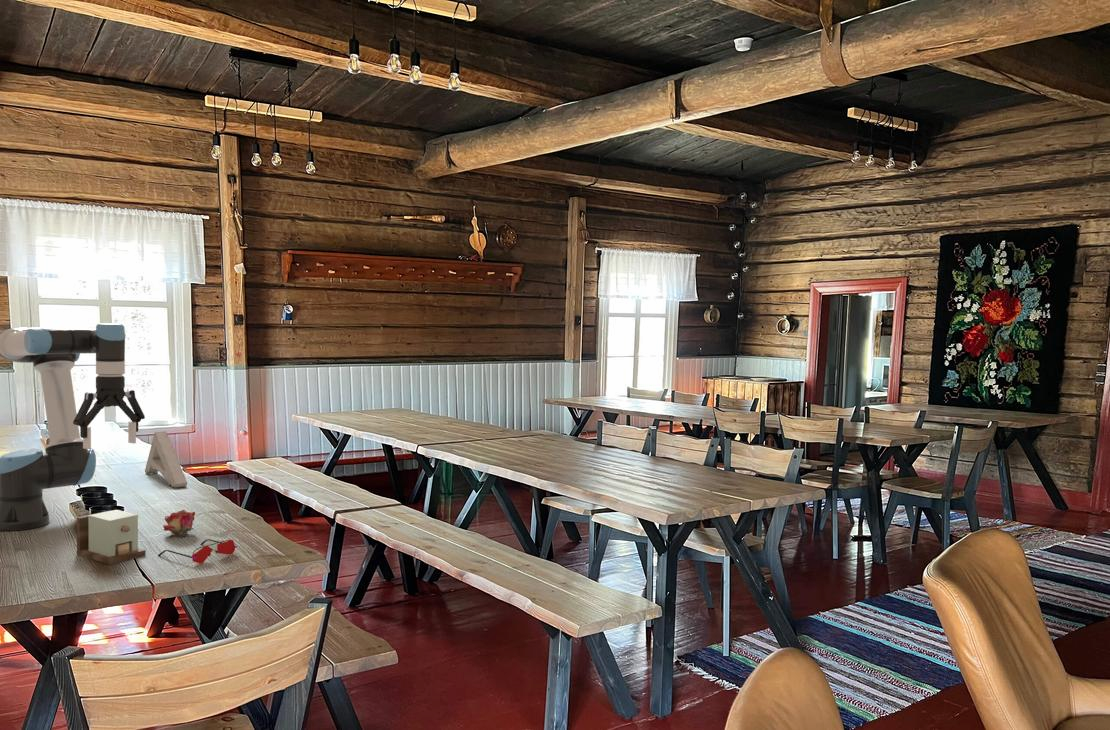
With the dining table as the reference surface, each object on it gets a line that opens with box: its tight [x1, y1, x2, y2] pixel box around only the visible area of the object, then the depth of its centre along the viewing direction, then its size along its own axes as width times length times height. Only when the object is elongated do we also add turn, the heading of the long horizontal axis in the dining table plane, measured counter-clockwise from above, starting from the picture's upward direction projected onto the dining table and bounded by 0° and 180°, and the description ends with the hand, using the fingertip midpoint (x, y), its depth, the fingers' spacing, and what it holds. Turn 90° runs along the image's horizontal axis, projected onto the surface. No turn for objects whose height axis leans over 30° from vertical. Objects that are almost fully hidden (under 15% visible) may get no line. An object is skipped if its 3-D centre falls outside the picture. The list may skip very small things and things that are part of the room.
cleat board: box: [76, 510, 146, 565], centre depth 218 cm, size 16×10×10 cm, turn 60°
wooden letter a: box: [144, 431, 188, 489], centre depth 316 cm, size 22×4×30 cm
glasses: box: [157, 538, 238, 565], centre depth 221 cm, size 14×16×5 cm
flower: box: [162, 509, 199, 538], centre depth 239 cm, size 10×9×8 cm
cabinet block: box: [87, 509, 139, 557], centre depth 217 cm, size 11×8×10 cm
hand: (110, 445), depth 233 cm, fingers open, 13 cm apart
